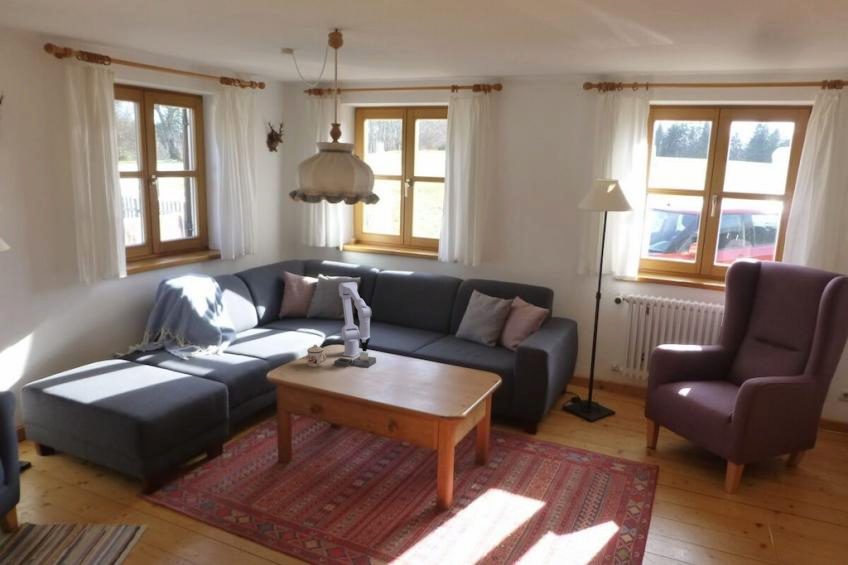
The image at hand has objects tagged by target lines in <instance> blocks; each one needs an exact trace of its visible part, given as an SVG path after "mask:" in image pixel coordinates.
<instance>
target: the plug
mask: <svg viewBox="0 0 848 565" xmlns="http://www.w3.org/2000/svg"><path fill="white" fill-rule="evenodd" d="M359 352H360V353H359V356H360V360H366V361H368V357H369V351H359Z"/></svg>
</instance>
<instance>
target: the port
mask: <svg viewBox="0 0 848 565" xmlns="http://www.w3.org/2000/svg"><path fill="white" fill-rule="evenodd" d="M376 363H377V357H376V356H375V357H374V356H368V361H366V360H360V355H358V357H356V358H354V359H353V364H352V366H356V367H362V368H368V369H369V368H370V367H371V366H373V365H375V364H376Z"/></svg>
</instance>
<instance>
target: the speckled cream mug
mask: <svg viewBox="0 0 848 565" xmlns="http://www.w3.org/2000/svg"><path fill="white" fill-rule="evenodd" d="M326 361H327V355H326V354H325V353H324V349H323V348H322V347H320V346H318V344H313V345H312V347H309V348H307V365H308V366H309V367H315V368H316V367H317V368H318V367H321V366H323V365H324V362H326Z"/></svg>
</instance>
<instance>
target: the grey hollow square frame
mask: <svg viewBox="0 0 848 565" xmlns="http://www.w3.org/2000/svg"><path fill="white" fill-rule="evenodd" d="M353 360H354V359H351V358H345V357H339V358H338V359H335V360H334V361H333V362H334V364H333V365H334V366H336V367H337V366H338V367H342V366H343V368H347V367H350V366H351V365H353ZM349 365H350V366H349Z"/></svg>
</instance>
